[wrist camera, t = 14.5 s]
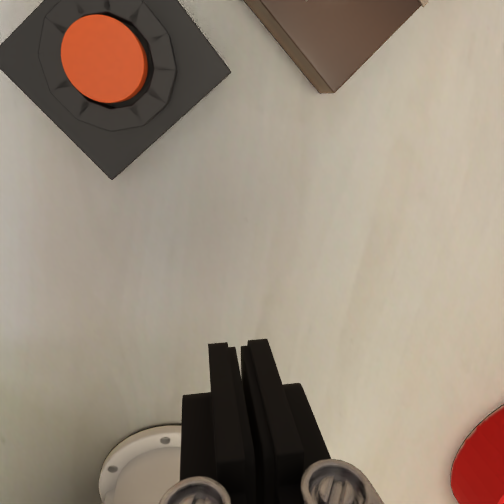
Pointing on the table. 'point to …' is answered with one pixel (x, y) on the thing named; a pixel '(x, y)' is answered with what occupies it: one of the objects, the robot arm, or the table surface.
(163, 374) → the table surface
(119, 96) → the button
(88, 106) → the button box
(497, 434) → the toy clock
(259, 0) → the dial panel
